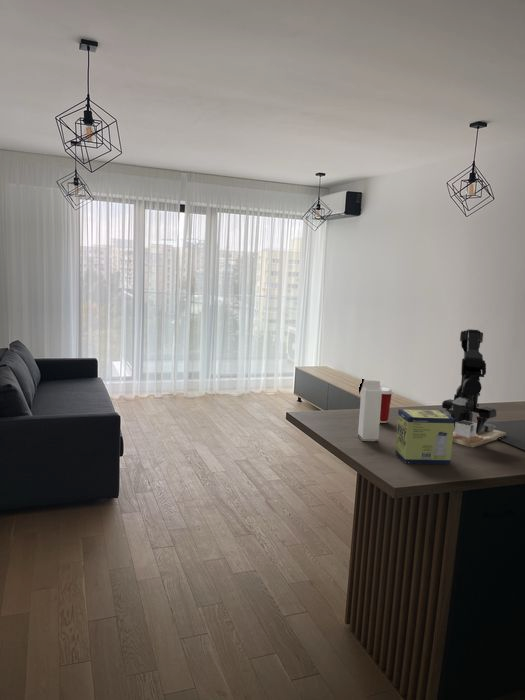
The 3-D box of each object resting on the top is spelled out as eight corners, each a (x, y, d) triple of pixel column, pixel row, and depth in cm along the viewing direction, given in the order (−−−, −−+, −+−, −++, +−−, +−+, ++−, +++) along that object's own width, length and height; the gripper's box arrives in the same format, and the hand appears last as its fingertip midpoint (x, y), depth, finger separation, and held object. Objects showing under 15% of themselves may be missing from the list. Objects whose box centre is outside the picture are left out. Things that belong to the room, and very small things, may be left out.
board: (440, 438, 201) (440, 433, 201) (474, 428, 218) (474, 423, 218) (472, 447, 192) (473, 441, 191) (505, 436, 209) (506, 431, 208)
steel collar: (454, 435, 199) (455, 422, 198) (462, 432, 203) (463, 420, 202) (469, 439, 195) (470, 426, 194) (477, 436, 199) (478, 423, 198)
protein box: (394, 453, 181) (397, 408, 179) (438, 454, 182) (442, 410, 180) (404, 464, 171) (408, 416, 169) (451, 464, 172) (455, 418, 170)
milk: (357, 437, 199) (361, 378, 196) (373, 437, 199) (377, 379, 196) (362, 442, 193) (366, 381, 190) (378, 442, 193) (382, 382, 190)
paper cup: (390, 420, 224) (393, 388, 222) (389, 425, 217) (391, 391, 215) (372, 418, 227) (374, 386, 225) (369, 422, 220) (372, 389, 218)
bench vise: (467, 432, 206) (469, 414, 205) (484, 427, 215) (486, 410, 214) (479, 435, 203) (480, 417, 202) (495, 430, 212) (497, 412, 211)
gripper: (435, 387, 198) (432, 428, 200) (484, 397, 184) (479, 441, 186) (451, 384, 205) (447, 424, 208) (499, 393, 192) (494, 436, 194)
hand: (466, 431), depth 199 cm, fingers open, 8 cm apart
